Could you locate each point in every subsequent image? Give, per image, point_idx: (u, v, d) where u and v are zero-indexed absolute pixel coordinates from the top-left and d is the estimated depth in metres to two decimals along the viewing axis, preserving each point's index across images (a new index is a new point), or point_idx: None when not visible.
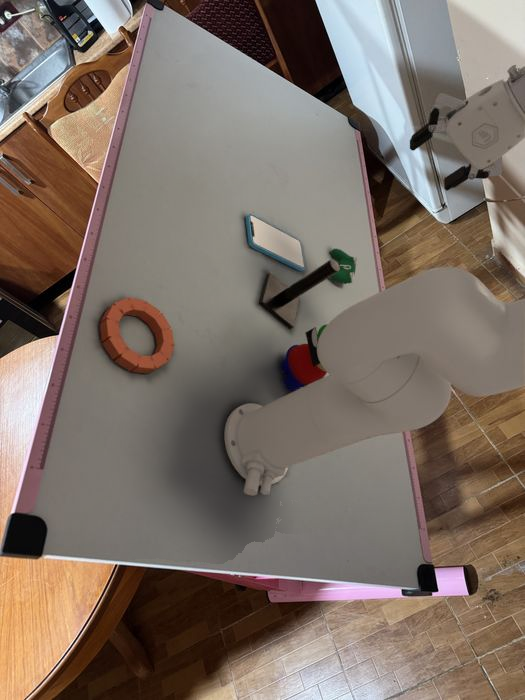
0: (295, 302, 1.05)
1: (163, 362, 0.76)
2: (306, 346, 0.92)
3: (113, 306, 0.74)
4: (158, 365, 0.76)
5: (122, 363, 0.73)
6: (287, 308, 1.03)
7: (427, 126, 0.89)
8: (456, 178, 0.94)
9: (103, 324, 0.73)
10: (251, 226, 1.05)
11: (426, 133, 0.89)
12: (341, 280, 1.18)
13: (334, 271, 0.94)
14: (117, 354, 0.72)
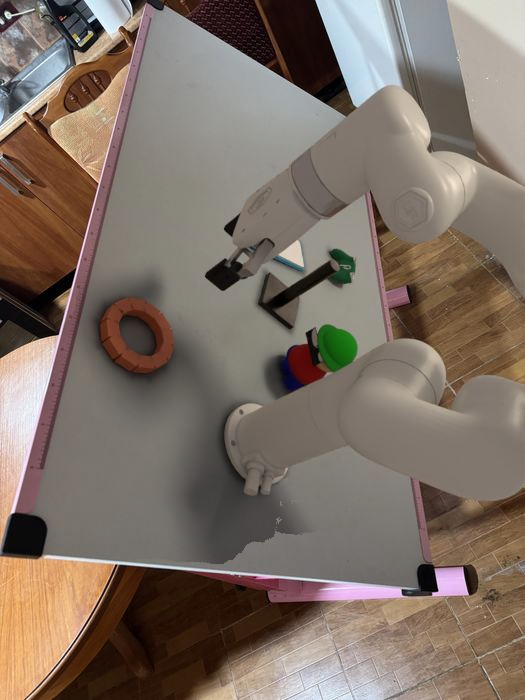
0: (295, 302, 1.05)
1: (163, 362, 0.76)
2: (306, 346, 0.92)
3: (113, 306, 0.74)
4: (158, 365, 0.76)
5: (122, 363, 0.73)
6: (287, 308, 1.03)
7: None
8: None
9: (103, 324, 0.73)
10: None
11: None
12: (341, 280, 1.18)
13: (334, 271, 0.94)
14: (117, 354, 0.72)
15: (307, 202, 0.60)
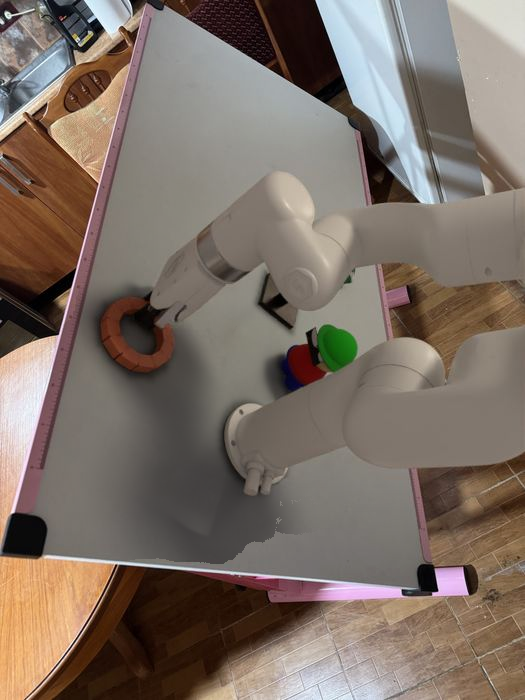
0: None
1: (163, 361, 0.77)
2: (306, 346, 0.92)
3: (113, 305, 0.74)
4: (158, 364, 0.76)
5: (123, 362, 0.73)
6: (287, 308, 1.03)
7: None
8: None
9: (103, 323, 0.73)
10: None
11: None
12: None
13: None
14: (117, 353, 0.72)
15: (211, 271, 0.66)
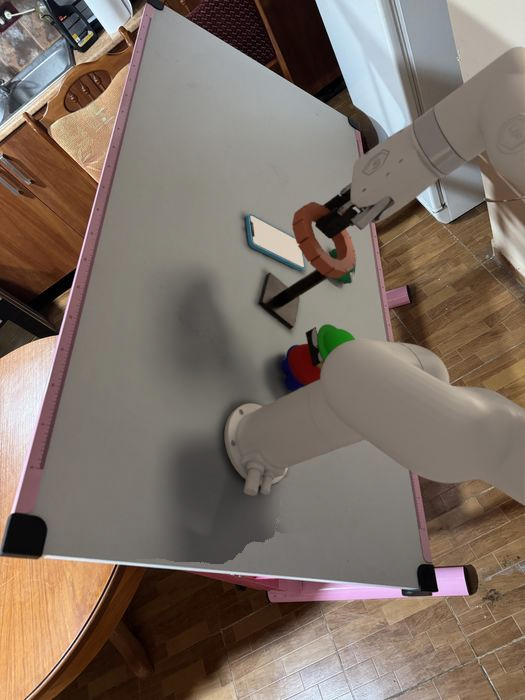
0: (295, 302, 1.05)
1: (351, 267, 0.75)
2: (306, 346, 0.92)
3: (304, 208, 0.72)
4: (348, 269, 0.74)
5: (318, 265, 0.71)
6: (287, 308, 1.03)
7: None
8: None
9: (298, 226, 0.71)
10: (251, 226, 1.05)
11: None
12: (341, 280, 1.18)
13: None
14: (315, 255, 0.70)
15: (430, 161, 0.64)
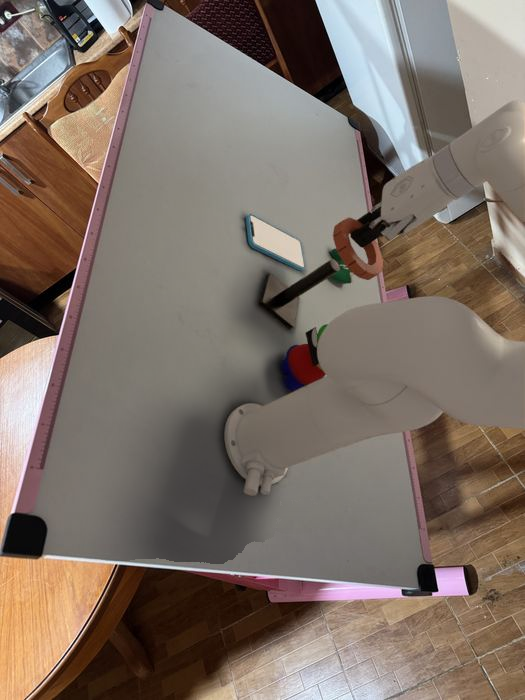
0: (295, 302, 1.05)
1: (379, 271, 0.91)
2: (306, 346, 0.92)
3: (343, 222, 0.89)
4: (377, 273, 0.91)
5: (354, 269, 0.88)
6: (287, 308, 1.03)
7: None
8: None
9: (338, 236, 0.88)
10: (251, 226, 1.05)
11: None
12: (341, 280, 1.18)
13: (334, 271, 0.94)
14: (352, 260, 0.87)
15: (446, 186, 0.81)
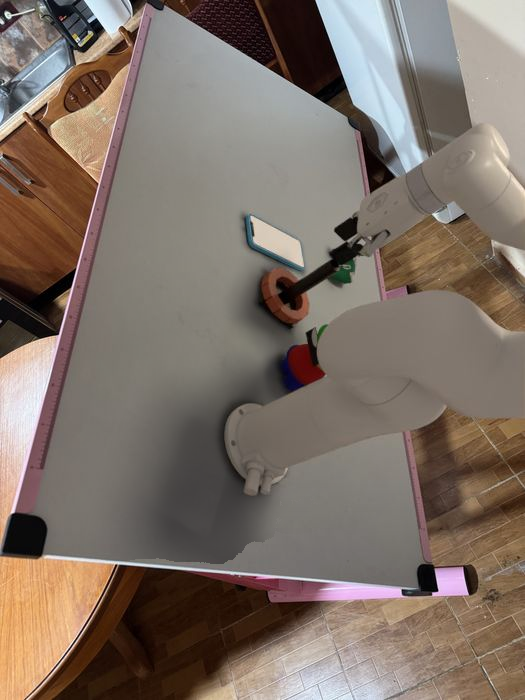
0: (295, 302, 1.05)
1: (305, 315, 1.03)
2: (306, 346, 0.92)
3: (270, 274, 1.00)
4: (302, 317, 1.02)
5: (280, 315, 0.99)
6: None
7: None
8: None
9: (265, 287, 0.99)
10: (251, 226, 1.05)
11: None
12: (341, 280, 1.18)
13: (334, 271, 0.94)
14: (277, 308, 0.98)
15: (418, 204, 0.84)
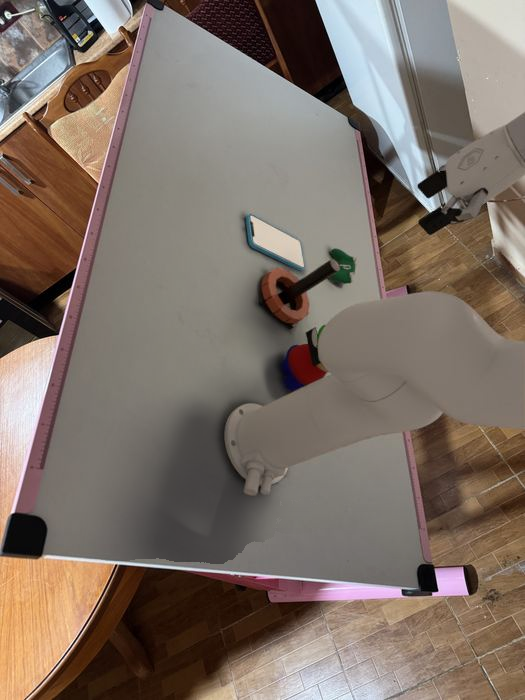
0: (295, 302, 1.05)
1: (305, 315, 1.03)
2: (306, 346, 0.92)
3: (270, 274, 1.00)
4: (302, 317, 1.02)
5: (280, 315, 0.99)
6: None
7: None
8: None
9: (265, 287, 0.99)
10: (251, 226, 1.05)
11: None
12: (341, 280, 1.18)
13: (334, 271, 0.94)
14: (277, 308, 0.98)
15: (522, 157, 0.76)
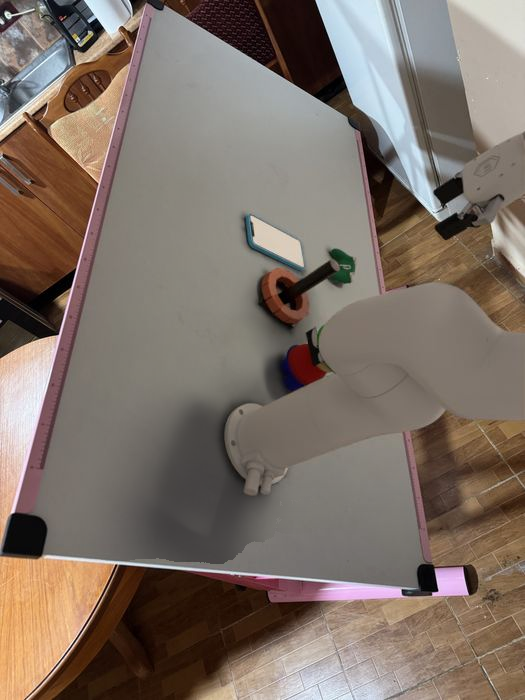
0: (295, 302, 1.05)
1: (305, 315, 1.03)
2: (306, 346, 0.92)
3: (270, 274, 1.00)
4: (302, 317, 1.02)
5: (280, 315, 0.99)
6: None
7: None
8: None
9: (265, 287, 0.99)
10: (251, 226, 1.05)
11: None
12: (341, 280, 1.18)
13: (334, 271, 0.94)
14: (277, 308, 0.98)
15: None
